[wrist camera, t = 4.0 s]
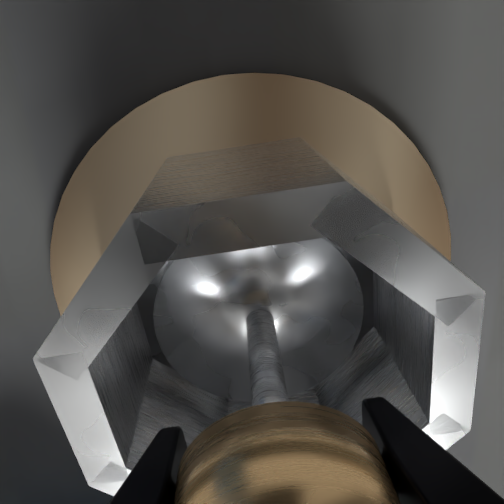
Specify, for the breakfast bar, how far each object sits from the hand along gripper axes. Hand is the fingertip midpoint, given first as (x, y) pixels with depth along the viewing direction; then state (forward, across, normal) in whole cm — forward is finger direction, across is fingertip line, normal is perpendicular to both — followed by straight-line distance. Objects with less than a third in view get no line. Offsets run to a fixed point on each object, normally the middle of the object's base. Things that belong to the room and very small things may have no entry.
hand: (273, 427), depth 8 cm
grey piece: (+6, 0, +2) cm, 6 cm away
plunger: (+5, 0, 0) cm, 5 cm away
